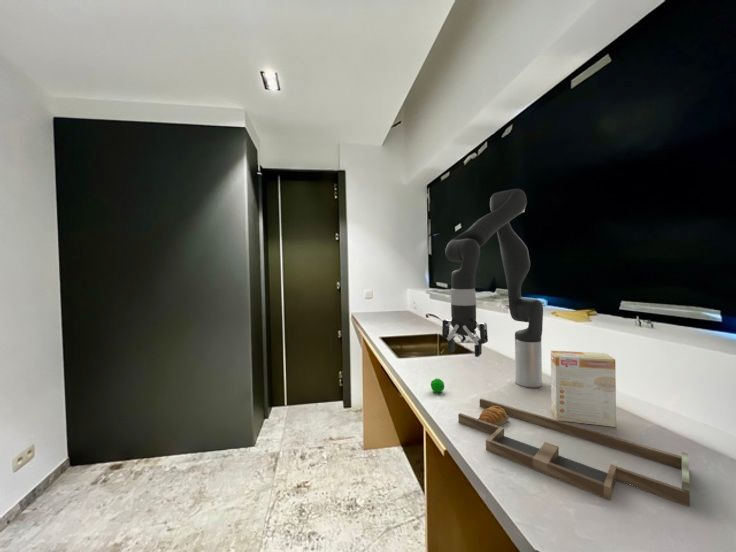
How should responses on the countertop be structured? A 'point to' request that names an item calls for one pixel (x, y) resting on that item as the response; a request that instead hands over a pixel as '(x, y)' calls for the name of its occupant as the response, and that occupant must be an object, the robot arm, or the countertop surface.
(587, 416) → the coffeecake box
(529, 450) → the mats
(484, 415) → the pastry
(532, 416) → the lane
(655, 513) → the countertop surface
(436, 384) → the polyhedron
